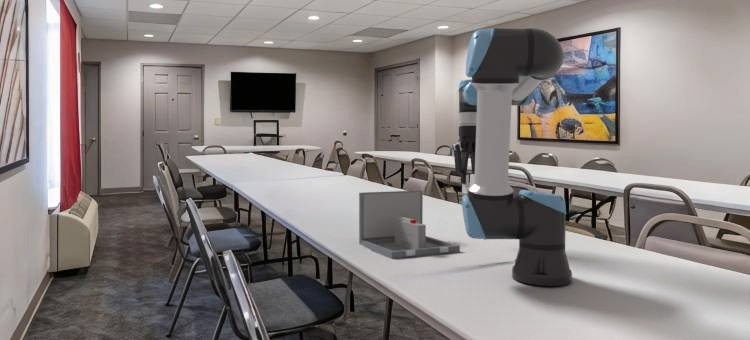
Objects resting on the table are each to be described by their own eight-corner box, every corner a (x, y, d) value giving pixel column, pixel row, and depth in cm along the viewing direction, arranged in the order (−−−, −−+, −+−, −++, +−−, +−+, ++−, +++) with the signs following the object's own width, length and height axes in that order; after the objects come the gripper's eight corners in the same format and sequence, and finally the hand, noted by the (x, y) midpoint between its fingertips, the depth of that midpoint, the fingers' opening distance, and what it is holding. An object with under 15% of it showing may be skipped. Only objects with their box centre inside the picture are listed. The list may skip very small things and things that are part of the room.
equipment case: (460, 252, 162) (461, 195, 161) (392, 259, 151) (392, 198, 150) (420, 240, 184) (421, 190, 183) (359, 245, 173) (359, 192, 172)
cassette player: (425, 253, 160) (425, 221, 160) (418, 254, 159) (418, 222, 159) (401, 245, 174) (401, 216, 174) (394, 245, 173) (394, 216, 173)
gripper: (481, 126, 183) (480, 191, 184) (444, 125, 176) (444, 193, 177) (494, 125, 176) (494, 193, 177) (457, 124, 169) (456, 194, 170)
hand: (469, 193), depth 177 cm, fingers open, 3 cm apart
